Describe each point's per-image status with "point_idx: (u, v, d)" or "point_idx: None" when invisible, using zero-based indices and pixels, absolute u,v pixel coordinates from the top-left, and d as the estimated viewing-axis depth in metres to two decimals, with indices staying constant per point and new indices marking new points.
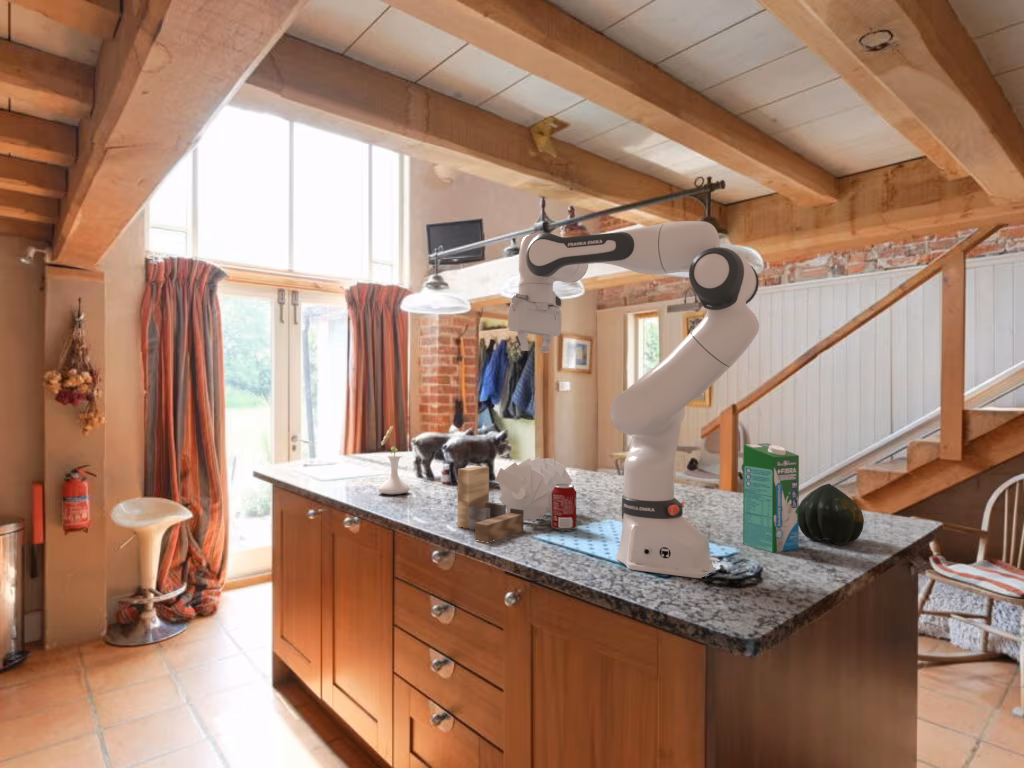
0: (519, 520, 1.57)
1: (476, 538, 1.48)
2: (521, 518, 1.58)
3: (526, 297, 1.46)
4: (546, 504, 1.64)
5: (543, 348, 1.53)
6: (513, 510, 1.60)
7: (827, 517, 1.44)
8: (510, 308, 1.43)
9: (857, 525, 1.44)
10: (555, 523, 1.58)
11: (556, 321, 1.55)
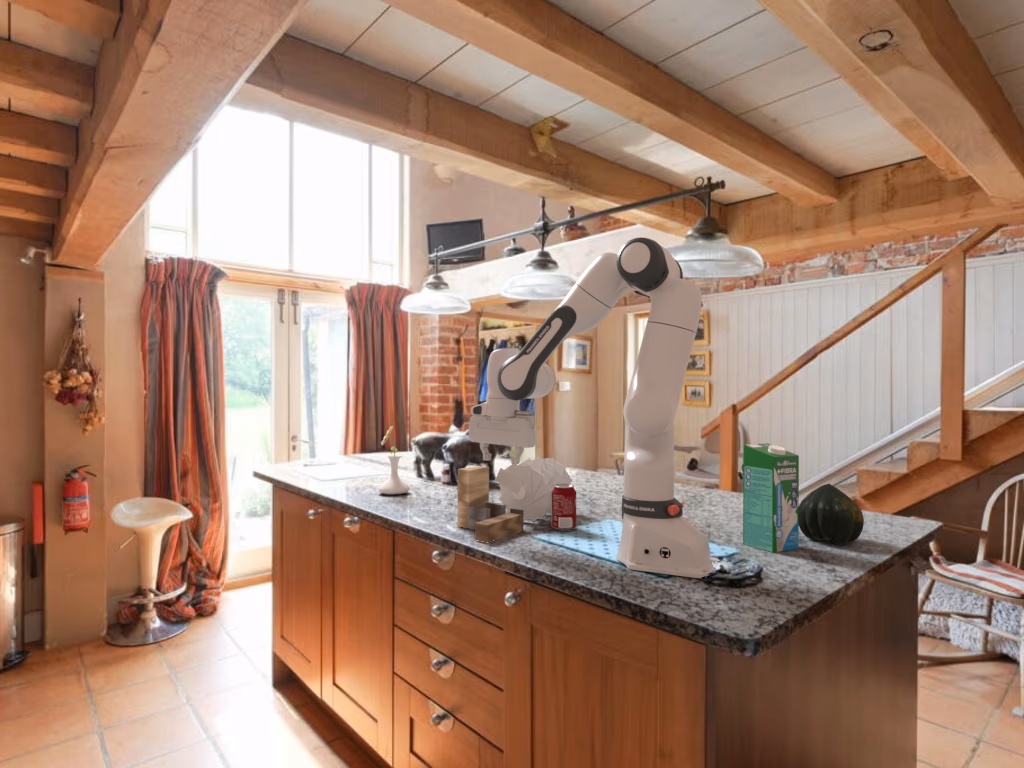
0: (519, 520, 1.57)
1: (476, 538, 1.48)
2: (521, 518, 1.58)
3: None
4: (546, 504, 1.64)
5: (489, 456, 1.56)
6: (513, 510, 1.60)
7: (827, 517, 1.44)
8: (529, 426, 1.47)
9: (857, 525, 1.44)
10: (555, 523, 1.58)
11: None
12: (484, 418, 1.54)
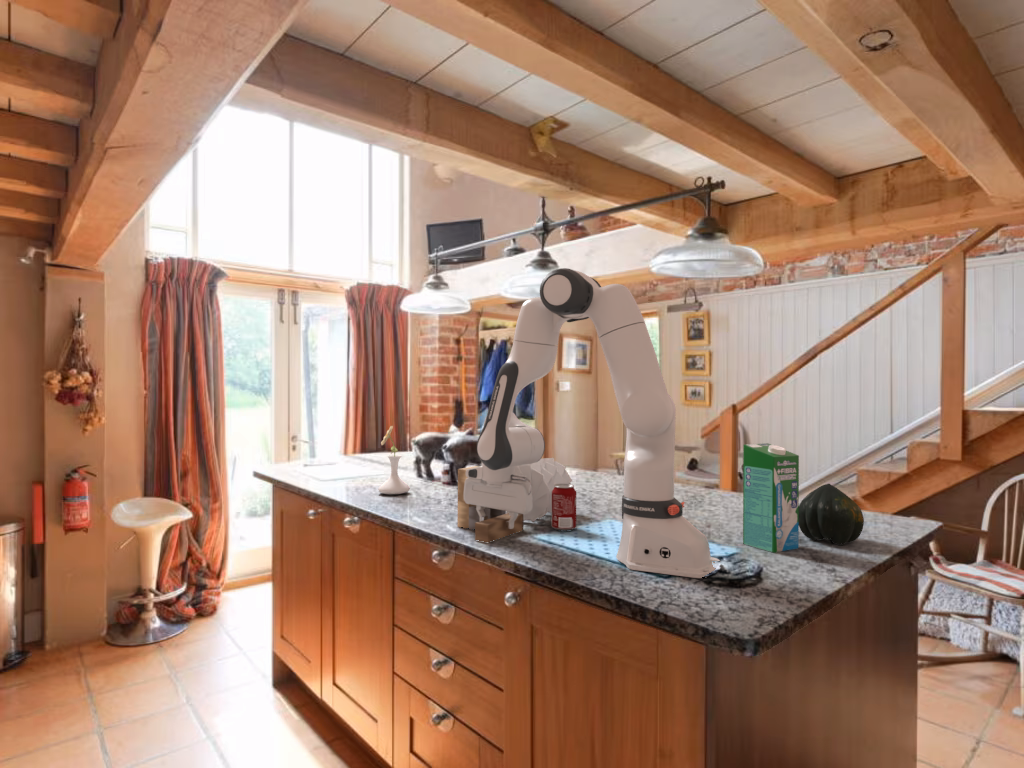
0: (519, 520, 1.57)
1: (476, 538, 1.48)
2: (521, 518, 1.58)
3: None
4: (546, 504, 1.64)
5: (485, 519, 1.55)
6: None
7: (827, 517, 1.44)
8: (525, 492, 1.47)
9: (857, 525, 1.44)
10: (555, 523, 1.58)
11: None
12: (479, 482, 1.53)
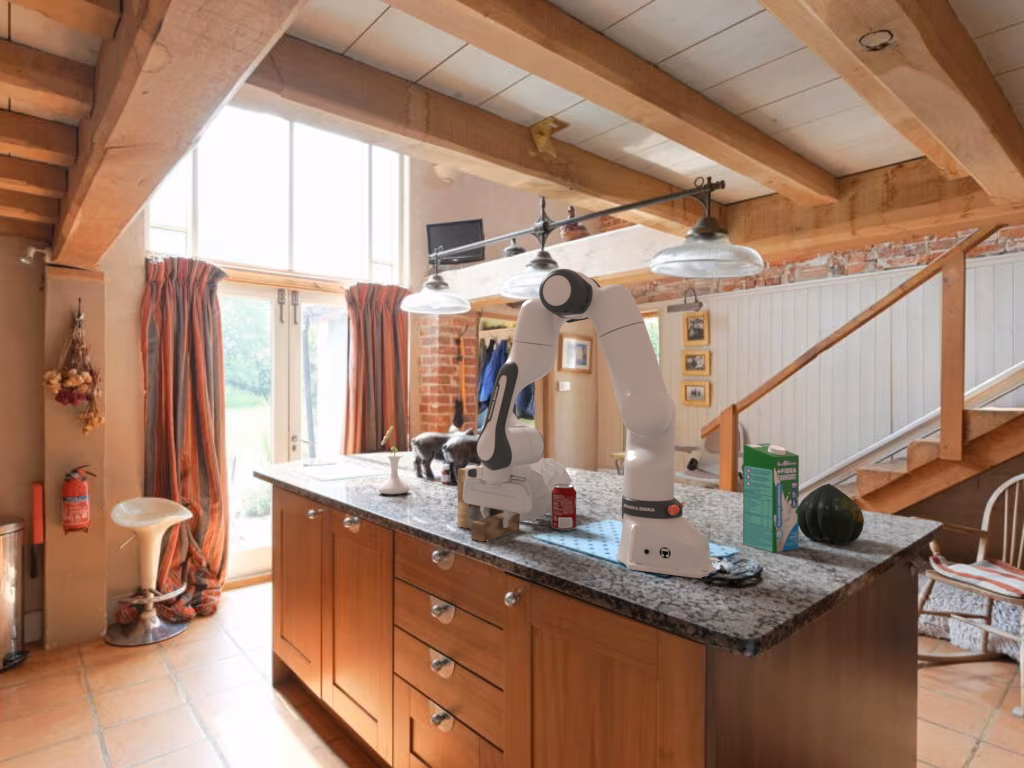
0: (515, 519, 1.58)
1: (472, 537, 1.48)
2: (517, 517, 1.59)
3: None
4: (546, 504, 1.64)
5: None
6: None
7: (827, 517, 1.44)
8: (525, 493, 1.47)
9: (857, 525, 1.44)
10: (555, 523, 1.58)
11: None
12: (479, 481, 1.53)
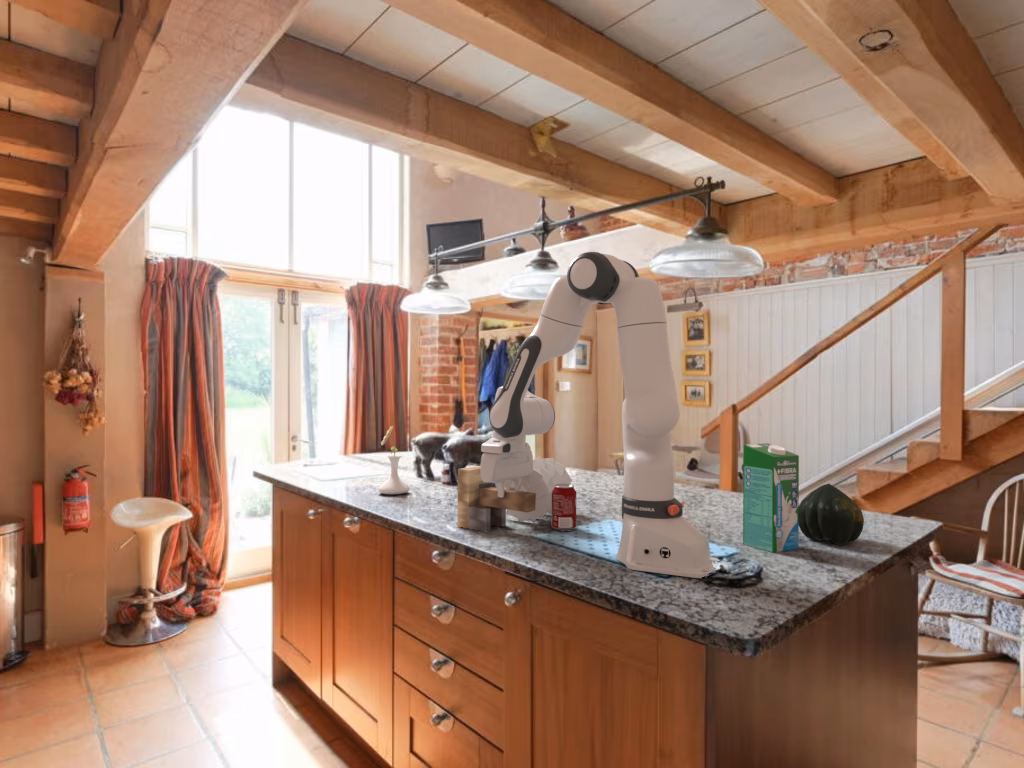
0: None
1: (528, 509, 1.52)
2: None
3: None
4: (546, 504, 1.64)
5: None
6: (483, 485, 1.61)
7: (827, 517, 1.44)
8: None
9: (857, 525, 1.44)
10: (555, 523, 1.58)
11: None
12: (509, 455, 1.53)
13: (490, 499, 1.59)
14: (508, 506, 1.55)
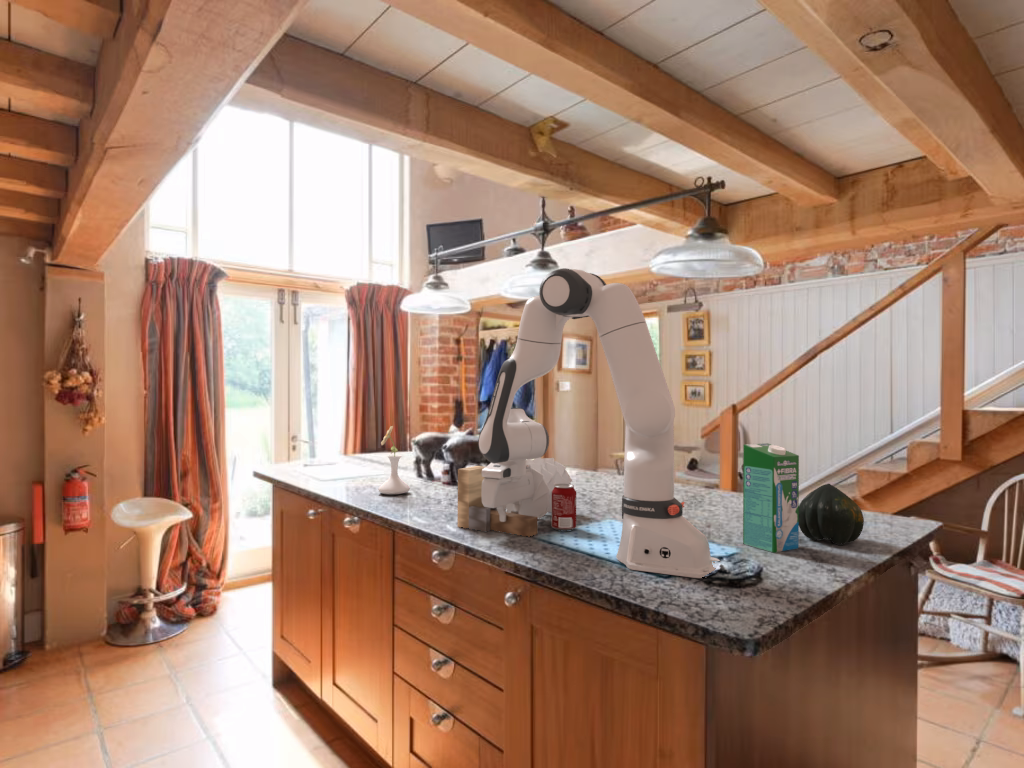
0: None
1: (530, 534, 1.52)
2: None
3: None
4: (546, 504, 1.64)
5: None
6: None
7: (827, 517, 1.44)
8: None
9: (857, 525, 1.44)
10: (555, 523, 1.58)
11: None
12: (510, 480, 1.53)
13: (491, 523, 1.58)
14: (510, 531, 1.55)
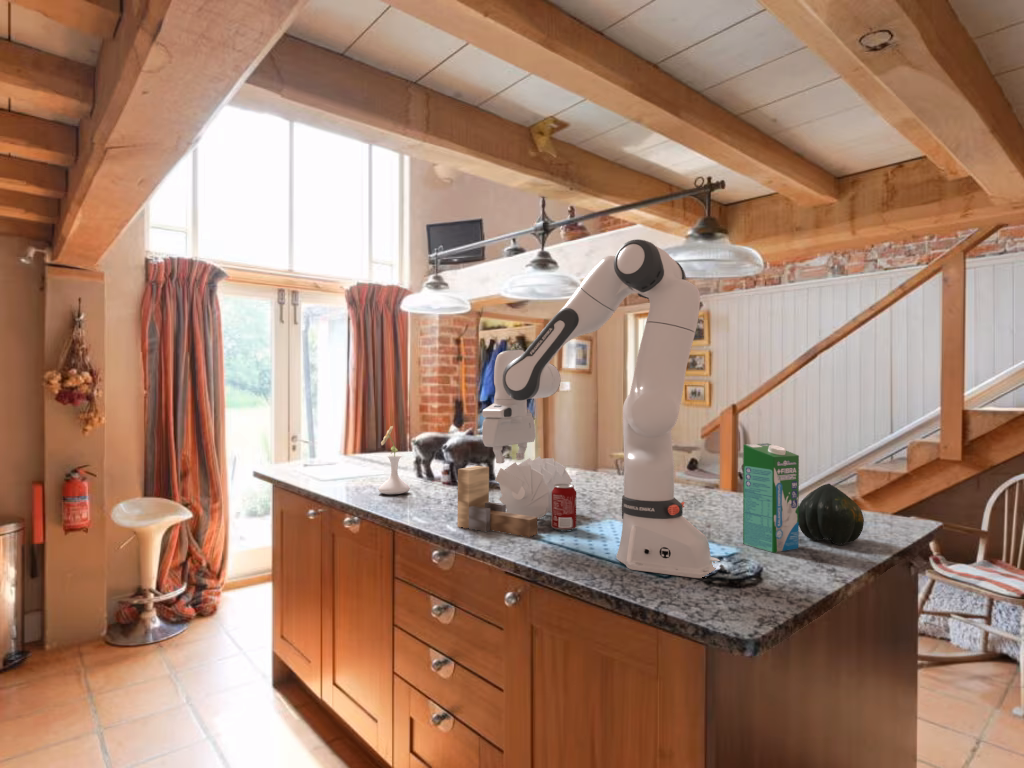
0: None
1: (530, 534, 1.52)
2: None
3: None
4: (546, 504, 1.64)
5: None
6: None
7: (827, 517, 1.44)
8: None
9: (857, 525, 1.44)
10: (555, 523, 1.58)
11: None
12: (510, 420, 1.53)
13: (491, 523, 1.58)
14: (510, 531, 1.55)
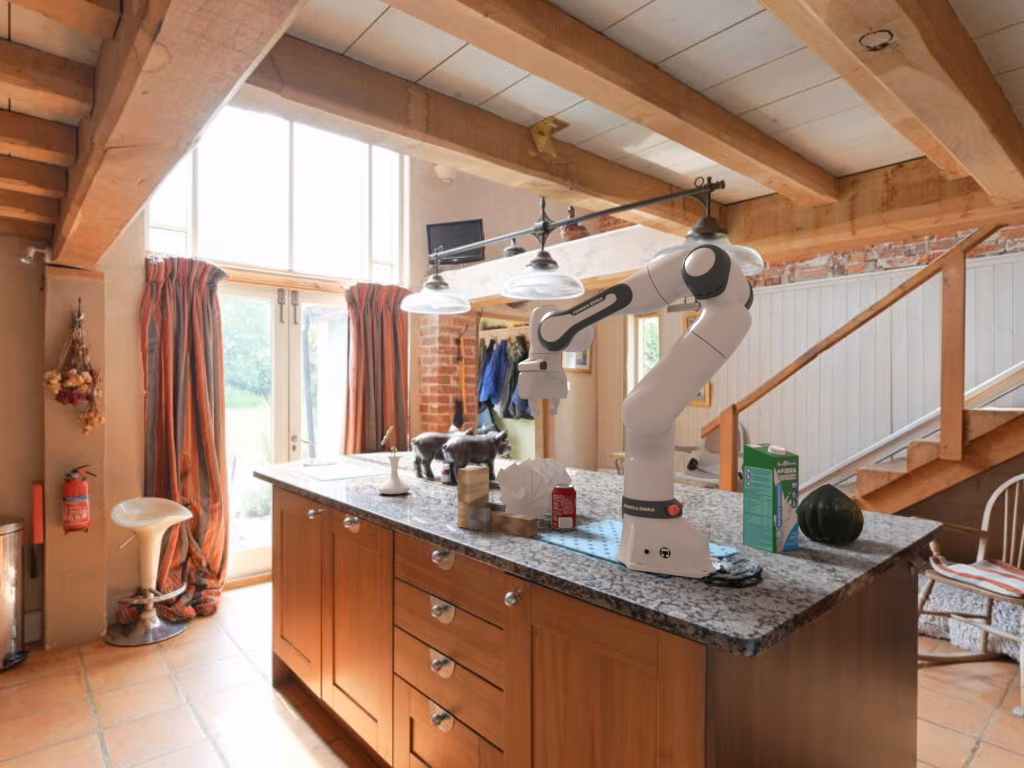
0: None
1: (530, 534, 1.52)
2: None
3: None
4: (546, 504, 1.64)
5: None
6: None
7: (827, 517, 1.44)
8: None
9: (857, 525, 1.44)
10: (555, 523, 1.58)
11: None
12: (546, 373, 1.55)
13: (491, 523, 1.58)
14: (510, 531, 1.55)
